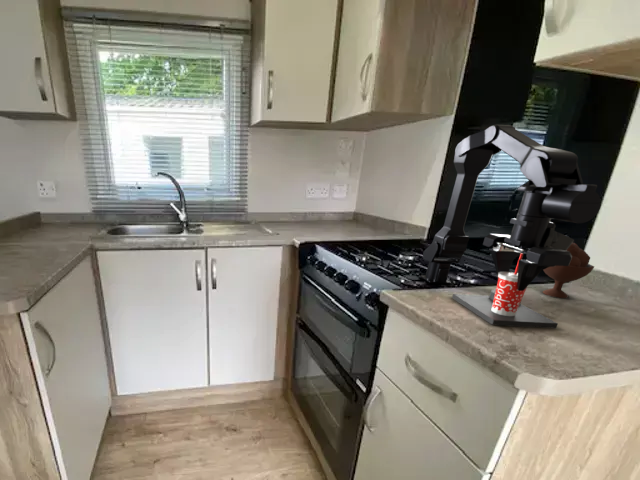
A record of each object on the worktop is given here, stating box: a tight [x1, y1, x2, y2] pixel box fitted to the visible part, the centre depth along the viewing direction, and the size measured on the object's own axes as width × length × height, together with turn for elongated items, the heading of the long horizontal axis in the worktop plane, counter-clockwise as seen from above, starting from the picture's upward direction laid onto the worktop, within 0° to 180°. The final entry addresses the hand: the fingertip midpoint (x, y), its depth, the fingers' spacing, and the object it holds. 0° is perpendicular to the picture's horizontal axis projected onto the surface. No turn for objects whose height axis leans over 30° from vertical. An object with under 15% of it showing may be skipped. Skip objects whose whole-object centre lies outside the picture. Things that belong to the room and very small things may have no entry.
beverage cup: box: [491, 253, 528, 316], centre depth 80 cm, size 6×6×14 cm
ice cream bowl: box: [542, 242, 595, 299], centre depth 98 cm, size 11×11×15 cm
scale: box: [451, 288, 559, 329], centre depth 86 cm, size 17×15×3 cm
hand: (510, 285), depth 80 cm, fingers closed on beverage cup, 6 cm apart
